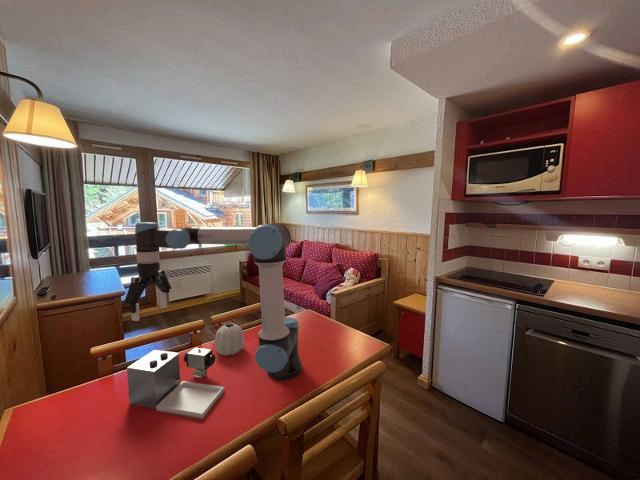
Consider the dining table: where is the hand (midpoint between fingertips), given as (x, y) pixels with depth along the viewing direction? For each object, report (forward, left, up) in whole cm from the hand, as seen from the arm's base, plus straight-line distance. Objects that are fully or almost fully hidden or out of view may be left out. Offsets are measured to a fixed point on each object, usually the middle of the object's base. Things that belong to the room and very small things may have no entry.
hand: (150, 313), depth 107 cm
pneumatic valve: (-18, -5, -28) cm, 33 cm away
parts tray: (-24, +9, -27) cm, 38 cm away
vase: (-20, -25, -28) cm, 42 cm away
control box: (-9, +9, -27) cm, 30 cm away
